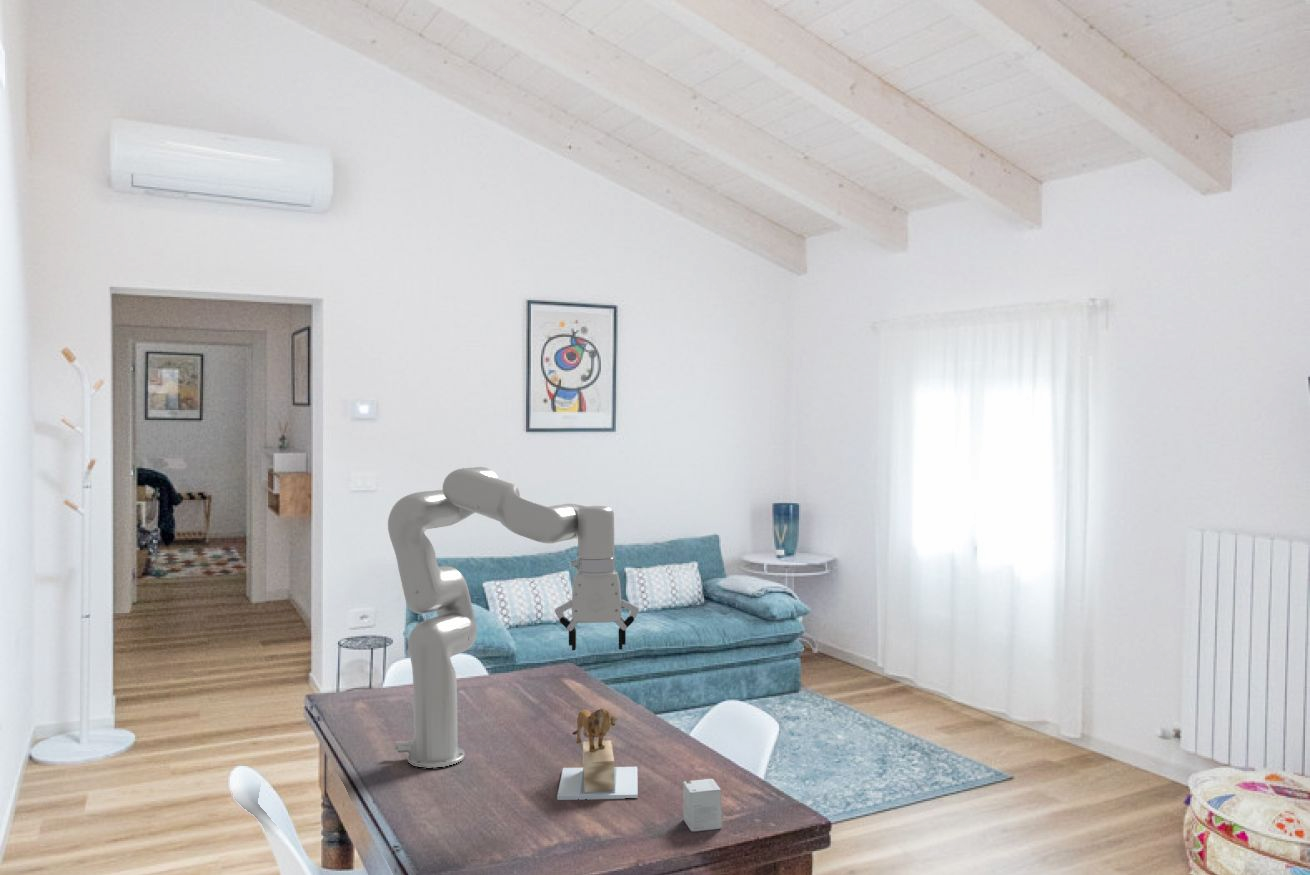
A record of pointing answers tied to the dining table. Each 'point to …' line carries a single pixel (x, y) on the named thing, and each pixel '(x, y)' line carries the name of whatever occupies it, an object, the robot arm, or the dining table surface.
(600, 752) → the oak block
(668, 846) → the dining table surface
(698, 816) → the skincare box
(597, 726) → the lion figurine
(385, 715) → the dining table surface
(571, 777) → the board
